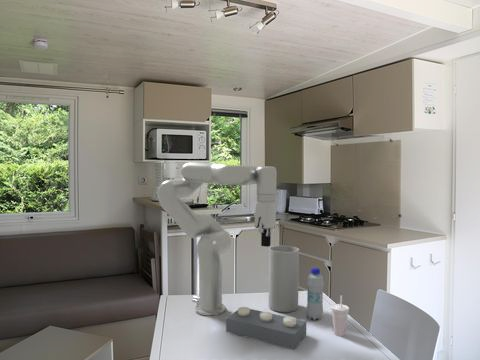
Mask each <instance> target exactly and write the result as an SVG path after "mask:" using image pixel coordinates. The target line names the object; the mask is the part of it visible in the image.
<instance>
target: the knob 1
mask: <svg viewBox="0 0 480 360" xmlns="http://www.w3.org/2000/svg"><path fill="white" fill-rule="evenodd" d="M250 309H251V308H250V307H247V306H241V307H238V309H237V310H238V315H239V316H249V315H250Z"/></svg>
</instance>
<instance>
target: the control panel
mask: <svg viewBox="0 0 480 360" xmlns="http://www.w3.org/2000/svg"><path fill="white" fill-rule="evenodd" d="M249 309H250V315H249V316H239V315H238V309H237V310H235V311H234V312H232V313H231V314H230V315H229V316H227V317H226V318H225V332H227V333H229V334H233V335H238V336H241V337H246V338H248V339H252V340H257V341H260V342H263V343H269V344H270V345H271V344H272V345H275V346H280V347H283V348H288V349H292V350H295V349H296V348H297V347H298V346H299V344H300V343H301V342H302V340H304V338H305V337H306V336H307V320H302V319H298V318H295V319H296V326H295V327H286V326H284V325H283V318H285V317H286V316H285V315H280V314H276V313H272V321H269V322H264V321H261V320H260V313H261V312H263V311H262V310H258V309H257V310H256V309H254V308H249Z"/></svg>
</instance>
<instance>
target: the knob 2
mask: <svg viewBox="0 0 480 360" xmlns="http://www.w3.org/2000/svg"><path fill="white" fill-rule="evenodd" d="M296 319H297V318H296V317H292V316H285V318H283V325H284V326H286V327H295V326H296Z"/></svg>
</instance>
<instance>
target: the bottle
mask: <svg viewBox="0 0 480 360" xmlns="http://www.w3.org/2000/svg"><path fill="white" fill-rule="evenodd" d="M324 288H325V282H324V276H323V275H322V274H321V270H320V268H318V267H312V268H311V269H310V273H309V274H308V275H307V279H306V289H307V298H306V299H307V304H306V316H307V318H308V319H310V320H312V319H313V321H317V320H318V321H320V320H321V319H322V318H323V314H324V307H323V306H324V305H323V302H324V301H323V300H324V299H323V298H324V297H323V296H324Z"/></svg>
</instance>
